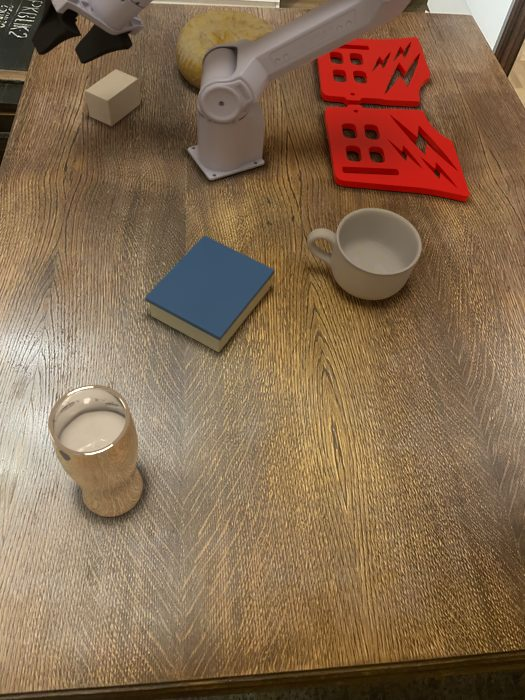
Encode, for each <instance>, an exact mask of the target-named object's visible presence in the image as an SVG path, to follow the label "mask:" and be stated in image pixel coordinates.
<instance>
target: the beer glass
mask: <svg viewBox="0 0 525 700" xmlns="http://www.w3.org/2000/svg"><path fill="white" fill-rule="evenodd" d="M47 430H48V435H49V436H50V438H51V439H50V440H51V443H52V446H53V449H54V452H55V455H56V457H57V460H58V462H59V463H60V465H61V467H62V469H63V470H64V471H65V473H66V474H67V475H68V476H69V478H71V479H72V480H73V481H74V482H75V483H76V484H77V485H78V486H79V487H81V496H82V500H83V503H84V505H85V506H86V508H87V509H88V510H89V511H90V512H92V513H94V514H95V515H97V516H99V517H102V518H103V517H104V518H114V517H119V516H122V515H124V514H127V513H129V512H130V511H131V510H132V509H133V508H134V507H135V506H136V505H137V504H138V502H139V501H140V499H141V497H142V494H143V489H144V481H143V477H142V474H141V472H140V470H139V469H138V468H137V461H138V455H139V439H138V438H139V437H138V431H137V428H136V424H135V421H134V418H133V416H132V413H131V410H130V408H129V404H128V402H127V400H126V398H124V397H123V395H122V394H120V392H118V391H117V390H115V389H113V388H112V387H108V386H107V385H101V384H87V385H83V386H78V387H76V388H73V389H71V390H70V391H68V392H66V393H65V394H63V395H62V396H61V397H60V398H59V399H58V400H57V401H56V402H55V404H53V407H52V408H51V410H50V413H49V416H48V421H47Z"/></svg>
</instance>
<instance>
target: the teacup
mask: <svg viewBox="0 0 525 700" xmlns="http://www.w3.org/2000/svg"><path fill="white" fill-rule="evenodd" d="M317 240H325V241H327V242H328V243H329V246H330V249H331V253H330V252H328V251H326V250H324V249H322V248H320V246H319V245H317V244H316V241H317ZM306 246H307V249H308V252H309V253H310V254H311V255H313V256H314V257H315V258H316V259H318V260H320V261H321V262H323V263H324V264H325V265H326V267H329V268H330V270H331V273H332V276H333V278H334V280H335V282H336V283H337V284H338V286H339V287H340V288H341V289H342V290H343V291H345V292H346V293H348V294H349V295H351V296H353V297H355V298H358V299H361V300H366V301H380V300H385V299H387V298H390V297H392V296H394V295H396V294H397V293H398V292H399V291H400V290H401V289H402V288H403V287H404V286H405V285H406V283H407V282H408V281H409V278H410V276H411V275H412V272H413V270H414V268H415V265H416V264H417V263H418V261H419V259H420V258H421V255H422V250H423V243H422V239H421V236H420V234H419V232H418V230H417V228H416V227H415V226H414V225H413V224H412V223H411V222H410V221H409V220H407V219H406V218H404V217H403V216H402V215H400V214H398V213H396V212H393V211H391V210H388V209H385V208H379V207H365V208H364V207H363V208H359V209H356V210H353V211H351V212H350V213H347V214H346V215H345V216H344V217H343V218H342V219H341V220H340V222H339V224H338V225H337V228H336V232H334V231H332V230H331V229H328V228H325V227H319V228H315V229H313V230H312V231H311V232H309V234H308V236H307V239H306Z"/></svg>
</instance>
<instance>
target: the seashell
mask: <svg viewBox="0 0 525 700" xmlns="http://www.w3.org/2000/svg"><path fill="white" fill-rule="evenodd" d="M272 31H274V26H272V25H270V23H269V22H268V21H267V20H266V19H264V18H263V17H258V16H257V15H255V14H254V13H253V12H248V11H247V12H246V11H239V10H234V9H229V10H224V9H220V10H218V9H214V8H209V9H208V10H207V11H206V12H202V13H198V14H195V16H193V17H192V18H191V19H190V20H188V21H187V22H186V23H185V24H184V26H183V28H182V29H180V31H179V34H178V37H177V39H176V44H175V59H176V63H177V67H178V69H179V71H180V74H181V75H182V76H183V77H184V79H185V81H187V82H188V83H189V84H191V85H192V86H194V87H195V88H197V89H199V90H200V86H201V78H202V61H203V57H204V55H205V53H206V52H207V51H208V50H209V49H210V48H212V47H213V46H216V45H220V44H232V43H235V42H237V41H239V40H241V39H247V40H251V41H256V40H258V39H259V38H261V37H263V36H265V35H267V34H268V33H270V32H272Z"/></svg>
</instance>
